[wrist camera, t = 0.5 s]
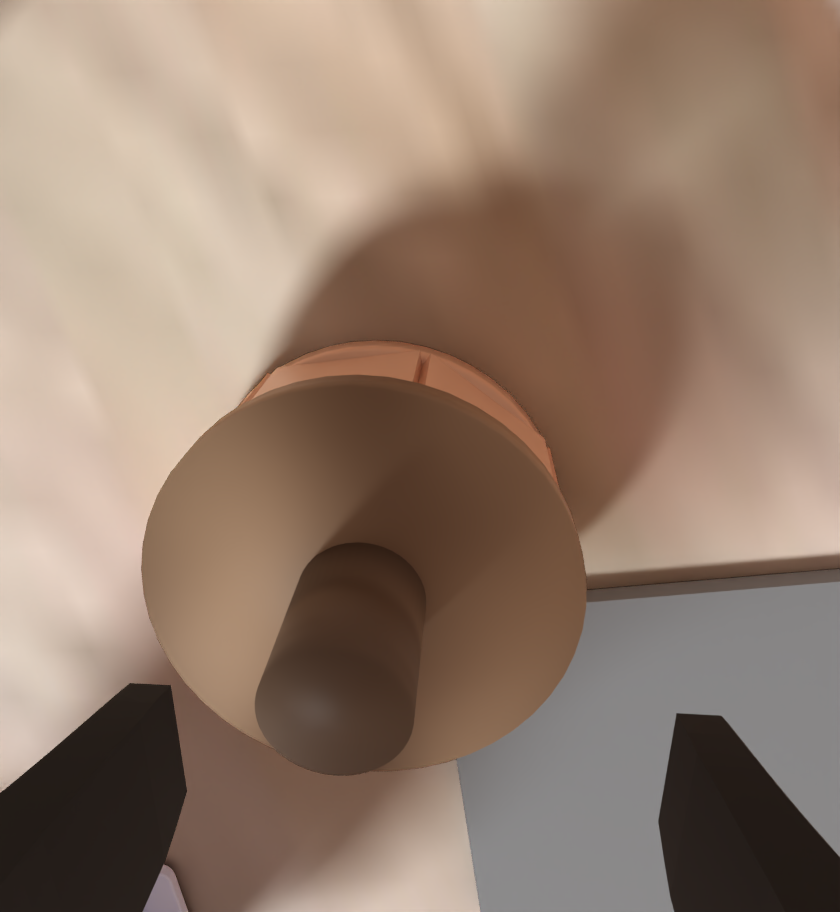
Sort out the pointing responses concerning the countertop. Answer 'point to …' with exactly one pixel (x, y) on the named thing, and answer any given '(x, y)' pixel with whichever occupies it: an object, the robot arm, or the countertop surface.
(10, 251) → the countertop surface
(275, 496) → the lid
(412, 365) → the bowl
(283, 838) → the countertop surface
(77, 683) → the countertop surface
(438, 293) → the countertop surface
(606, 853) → the mat
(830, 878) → the robot arm
